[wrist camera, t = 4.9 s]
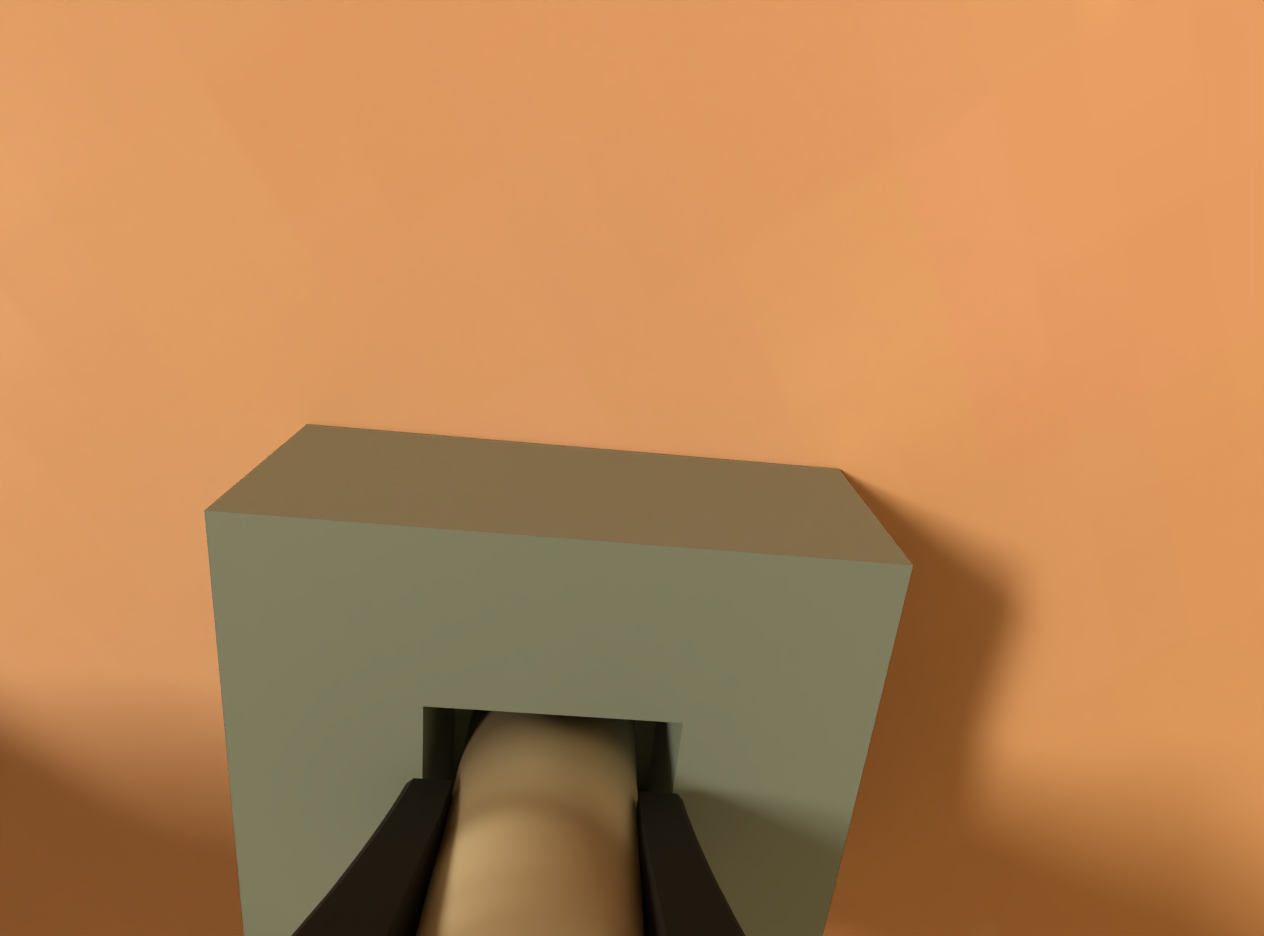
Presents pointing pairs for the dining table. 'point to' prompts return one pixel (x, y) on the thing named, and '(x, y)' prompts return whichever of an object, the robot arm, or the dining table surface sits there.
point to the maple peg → (540, 831)
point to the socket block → (547, 644)
